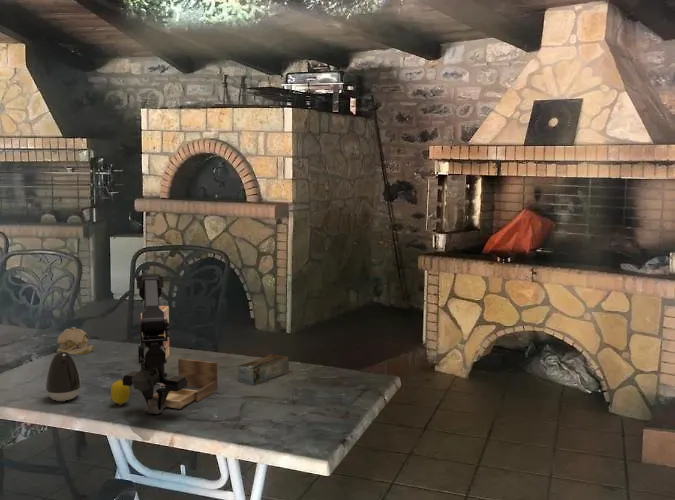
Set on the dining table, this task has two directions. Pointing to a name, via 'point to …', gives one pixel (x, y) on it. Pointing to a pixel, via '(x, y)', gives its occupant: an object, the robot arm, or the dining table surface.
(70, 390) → the brown tapered dome
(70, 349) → the ceramic model
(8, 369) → the dining table surface
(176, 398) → the wooden drawer
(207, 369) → the open wooden box
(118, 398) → the lemon
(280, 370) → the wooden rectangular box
